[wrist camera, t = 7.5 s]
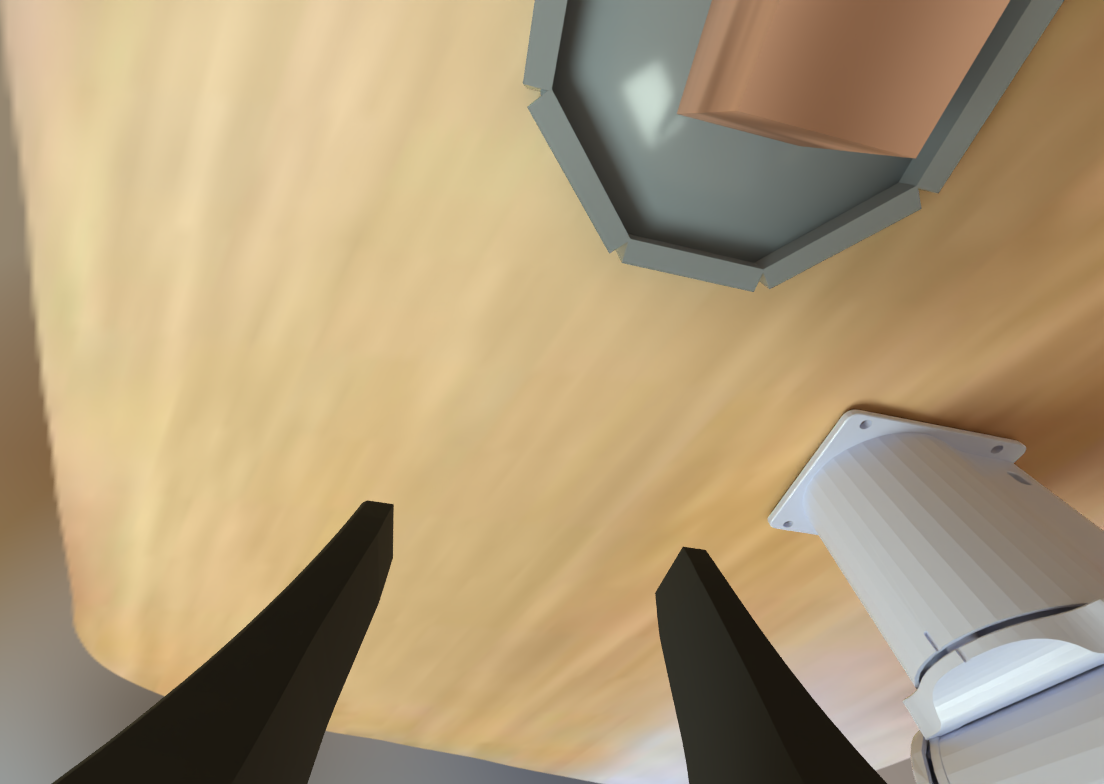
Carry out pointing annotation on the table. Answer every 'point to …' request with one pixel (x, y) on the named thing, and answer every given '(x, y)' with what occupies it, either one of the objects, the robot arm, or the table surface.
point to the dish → (726, 146)
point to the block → (836, 69)
